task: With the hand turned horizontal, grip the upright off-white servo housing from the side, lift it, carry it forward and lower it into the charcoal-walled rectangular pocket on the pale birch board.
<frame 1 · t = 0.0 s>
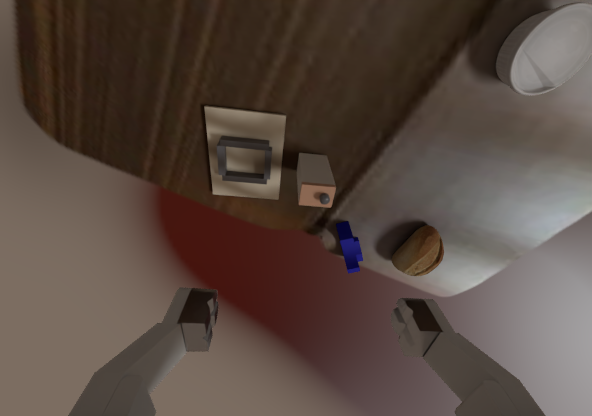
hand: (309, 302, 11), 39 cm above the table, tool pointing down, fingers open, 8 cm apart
bread roll: (411, 242, 64), on the table
cable clip: (348, 237, 63), on the table
servo housing: (311, 163, 50), on the table
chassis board: (246, 157, 48), on the table
ramekin: (524, 50, 39), on the table
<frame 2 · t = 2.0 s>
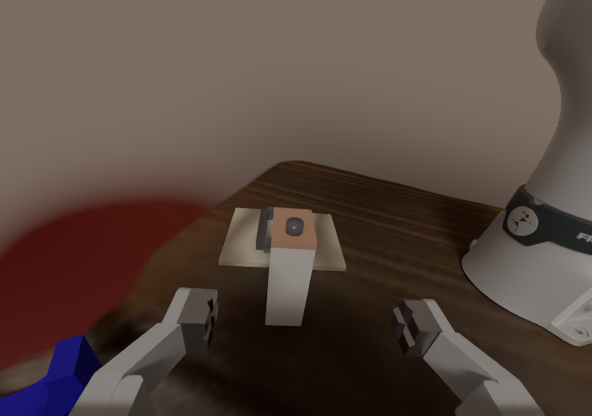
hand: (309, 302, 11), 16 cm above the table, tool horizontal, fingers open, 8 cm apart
servo housing: (283, 304, 30), on the table
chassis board: (283, 237, 41), on the table
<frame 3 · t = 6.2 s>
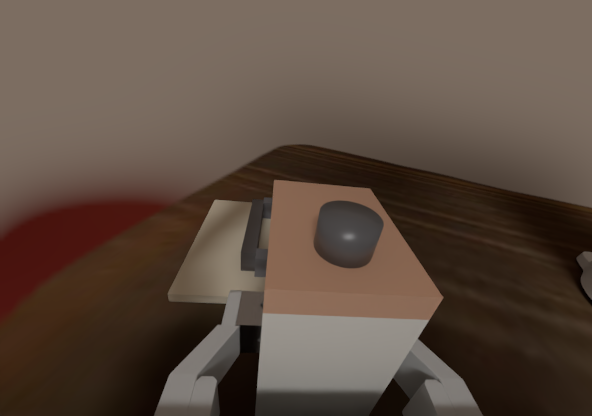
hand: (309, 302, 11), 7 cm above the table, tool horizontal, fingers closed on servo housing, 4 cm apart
servo housing: (292, 398, 14), on the table, touching gripper
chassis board: (289, 247, 25), on the table
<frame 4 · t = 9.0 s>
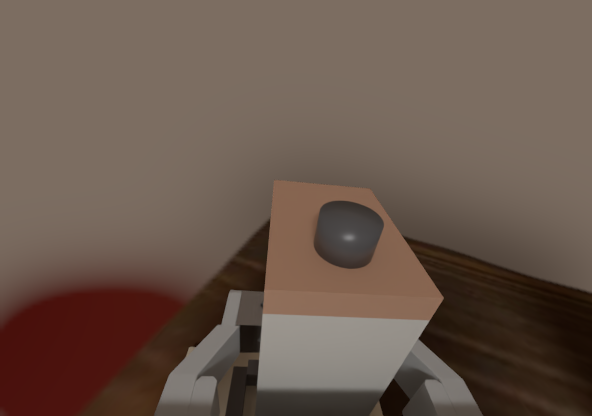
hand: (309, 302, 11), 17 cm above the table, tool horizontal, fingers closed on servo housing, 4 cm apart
servo housing: (292, 398, 14), point 10 cm above the table, touching gripper
when the fingers open (9 cm above the table, at t = 11.4 s): servo housing stays where it is, resting on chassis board.
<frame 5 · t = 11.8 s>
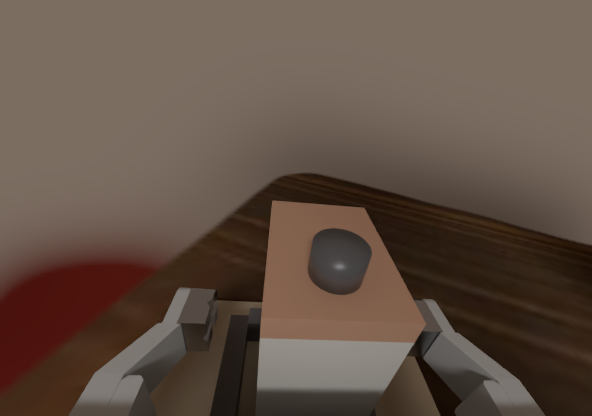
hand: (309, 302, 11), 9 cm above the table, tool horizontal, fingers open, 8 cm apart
servo housing: (291, 405, 14), point 1 cm above the table, touching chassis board
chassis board: (289, 411, 15), on the table
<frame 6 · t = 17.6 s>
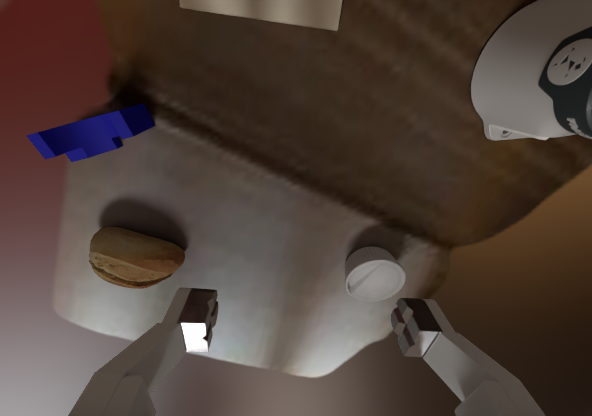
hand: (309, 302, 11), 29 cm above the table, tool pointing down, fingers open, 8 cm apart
bread roll: (146, 243, 45), on the table
cable clip: (115, 129, 35), on the table
ramekin: (367, 261, 50), on the table
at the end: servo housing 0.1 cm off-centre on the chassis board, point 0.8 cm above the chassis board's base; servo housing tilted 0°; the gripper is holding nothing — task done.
